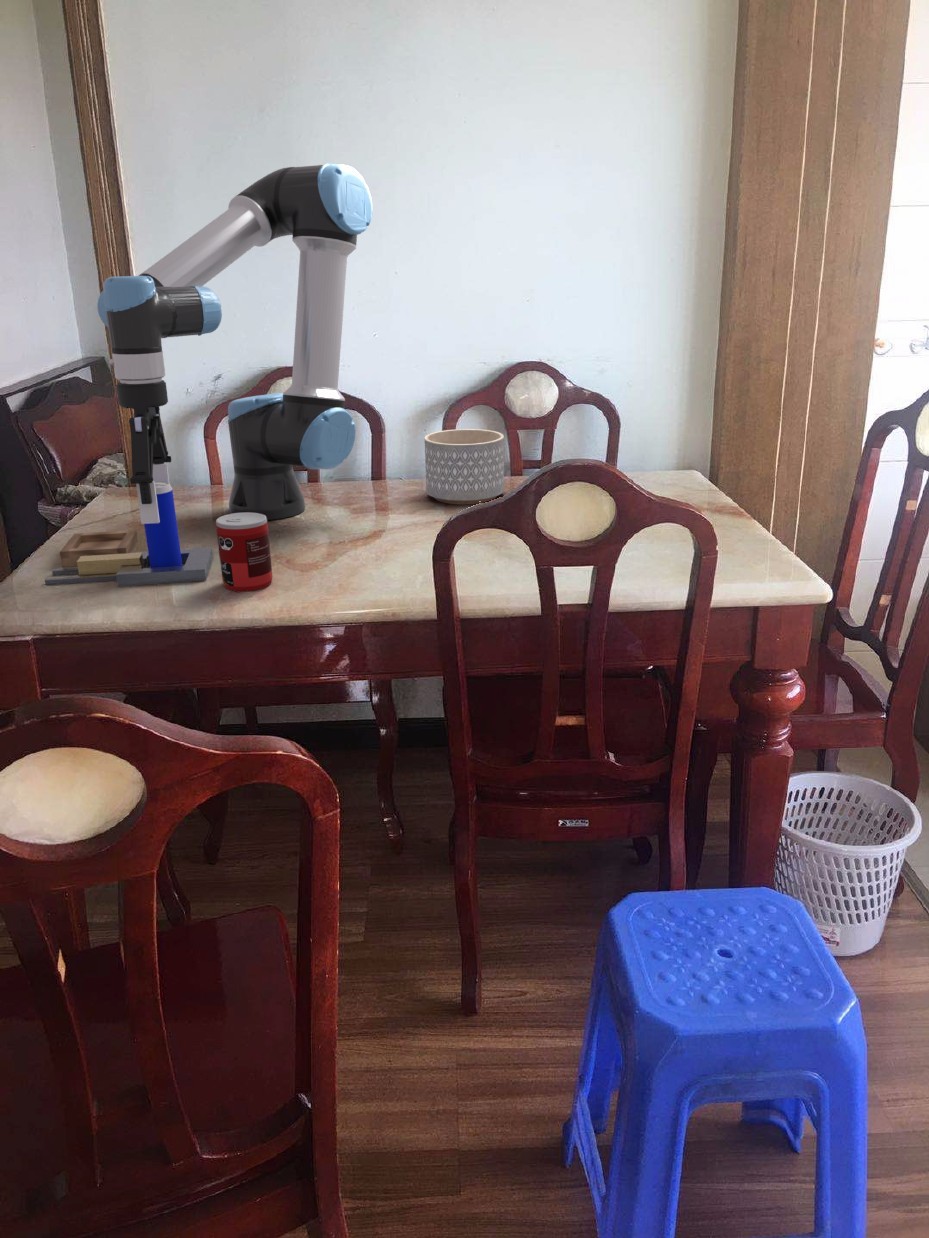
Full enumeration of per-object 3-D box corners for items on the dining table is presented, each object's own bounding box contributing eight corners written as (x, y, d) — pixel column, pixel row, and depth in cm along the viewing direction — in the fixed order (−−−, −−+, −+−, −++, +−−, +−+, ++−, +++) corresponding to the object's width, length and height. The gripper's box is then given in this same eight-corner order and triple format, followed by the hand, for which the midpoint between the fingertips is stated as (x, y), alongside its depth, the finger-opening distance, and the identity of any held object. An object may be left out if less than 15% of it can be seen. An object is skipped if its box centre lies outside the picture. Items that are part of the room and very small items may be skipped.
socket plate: (213, 558, 174) (211, 547, 173) (205, 580, 163) (204, 569, 162) (58, 567, 171) (56, 556, 170) (40, 591, 160) (38, 579, 159)
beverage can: (189, 569, 169) (178, 482, 163) (169, 578, 164) (156, 489, 159) (165, 565, 171) (153, 479, 165) (144, 574, 167) (131, 487, 161)
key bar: (144, 569, 168) (142, 552, 167) (141, 575, 166) (139, 557, 165) (83, 573, 167) (80, 556, 166) (79, 579, 165) (76, 561, 163)
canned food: (226, 577, 164) (219, 513, 160) (275, 575, 165) (269, 511, 161) (219, 593, 157) (211, 526, 153) (270, 591, 158) (264, 524, 154)
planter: (457, 483, 221) (455, 426, 216) (519, 493, 212) (519, 433, 207) (410, 499, 209) (408, 439, 204) (474, 510, 200) (473, 447, 195)
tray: (138, 544, 183) (136, 530, 182) (128, 562, 173) (125, 547, 172) (76, 547, 182) (74, 533, 181) (62, 566, 171) (59, 551, 170)
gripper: (130, 371, 167) (145, 495, 175) (99, 392, 144) (119, 533, 151) (175, 370, 168) (189, 493, 176) (152, 390, 145) (169, 531, 152)
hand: (157, 512), depth 164 cm, fingers open, 13 cm apart
